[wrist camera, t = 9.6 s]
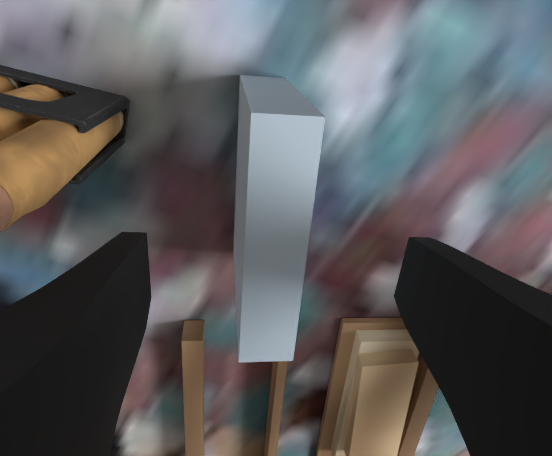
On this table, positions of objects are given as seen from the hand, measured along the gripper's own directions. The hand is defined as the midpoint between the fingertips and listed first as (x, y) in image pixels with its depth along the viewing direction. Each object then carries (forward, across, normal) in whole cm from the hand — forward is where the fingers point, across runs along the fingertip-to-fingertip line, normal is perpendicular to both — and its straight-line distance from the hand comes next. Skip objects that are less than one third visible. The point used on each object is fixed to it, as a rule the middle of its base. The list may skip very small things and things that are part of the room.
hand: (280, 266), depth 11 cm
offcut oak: (+6, -7, +13) cm, 16 cm away
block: (+7, 0, 0) cm, 7 cm away
